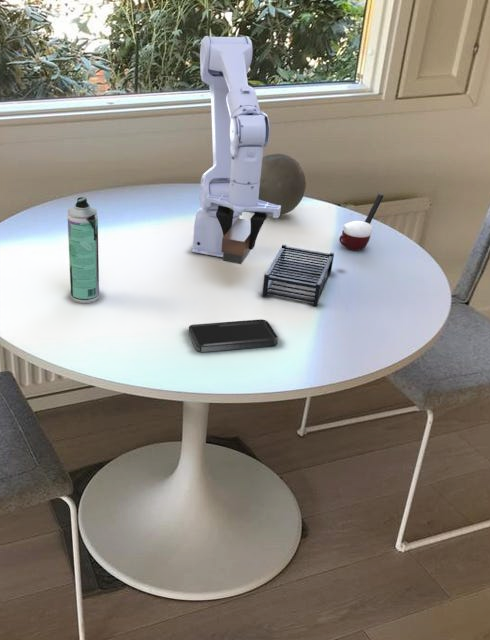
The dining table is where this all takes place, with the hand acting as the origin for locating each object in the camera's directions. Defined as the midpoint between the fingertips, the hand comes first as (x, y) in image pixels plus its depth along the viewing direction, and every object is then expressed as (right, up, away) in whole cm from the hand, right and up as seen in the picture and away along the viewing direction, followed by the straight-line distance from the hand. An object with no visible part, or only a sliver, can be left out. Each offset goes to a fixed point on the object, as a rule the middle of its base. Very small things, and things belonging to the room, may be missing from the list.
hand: (239, 245), depth 153 cm
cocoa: (+28, +2, +21) cm, 36 cm away
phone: (-2, -19, -15) cm, 24 cm away
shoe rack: (+12, -7, +4) cm, 15 cm away
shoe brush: (0, -1, +1) cm, 2 cm away
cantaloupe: (+11, +13, +36) cm, 40 cm away
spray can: (-30, -11, -3) cm, 32 cm away
